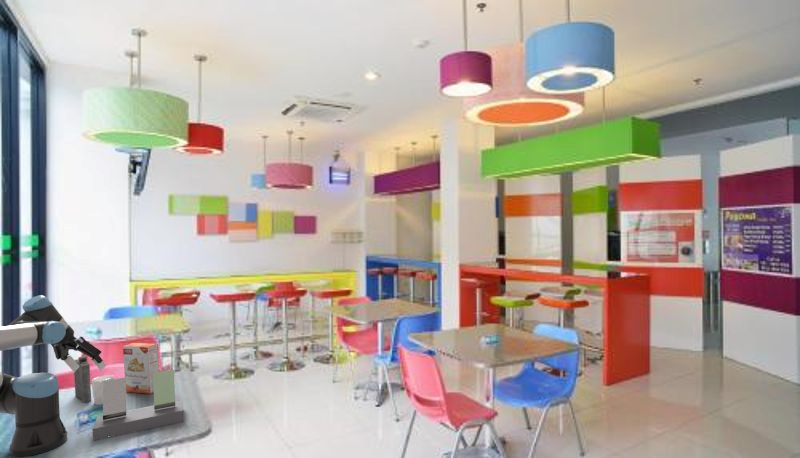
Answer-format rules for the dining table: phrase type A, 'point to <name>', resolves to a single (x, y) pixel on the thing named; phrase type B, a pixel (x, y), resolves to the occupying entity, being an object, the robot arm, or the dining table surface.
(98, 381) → the white cup
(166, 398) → the pale green flat slab
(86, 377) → the flask
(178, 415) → the panel
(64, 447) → the dining table surface
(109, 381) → the light grey rectangular slab
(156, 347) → the cracker box
